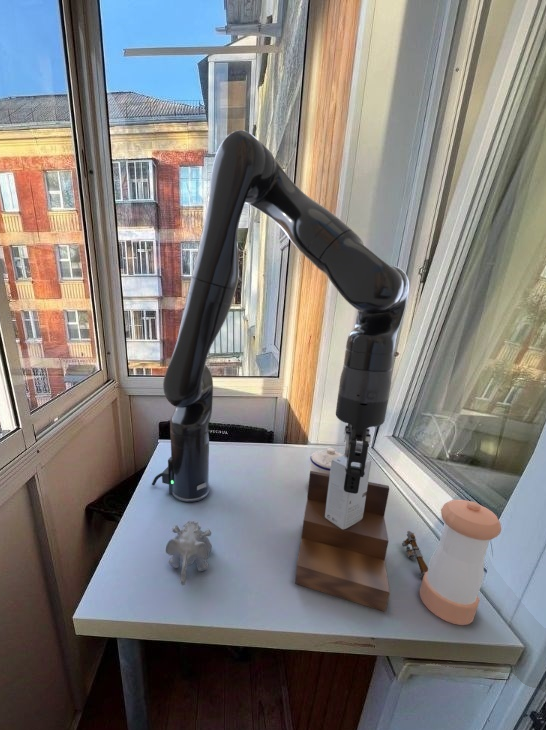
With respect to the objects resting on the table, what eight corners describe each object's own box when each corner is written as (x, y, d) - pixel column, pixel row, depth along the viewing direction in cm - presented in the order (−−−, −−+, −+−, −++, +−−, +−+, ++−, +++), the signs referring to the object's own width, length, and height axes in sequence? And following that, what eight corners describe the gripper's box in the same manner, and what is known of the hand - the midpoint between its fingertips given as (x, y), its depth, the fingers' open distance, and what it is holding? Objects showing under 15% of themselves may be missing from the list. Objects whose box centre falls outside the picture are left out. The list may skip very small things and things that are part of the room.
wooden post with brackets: (406, 539, 66) (415, 528, 63) (424, 583, 60) (435, 573, 57) (396, 539, 67) (405, 528, 64) (414, 583, 61) (424, 573, 58)
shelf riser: (295, 583, 58) (302, 515, 54) (304, 528, 71) (310, 470, 67) (385, 612, 53) (401, 539, 49) (377, 546, 66) (388, 485, 62)
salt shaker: (431, 577, 59) (455, 483, 53) (481, 609, 53) (515, 507, 47) (411, 598, 55) (434, 499, 49) (463, 634, 49) (496, 527, 44)
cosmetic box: (344, 531, 59) (353, 471, 55) (322, 517, 62) (330, 459, 59) (364, 518, 62) (374, 460, 58) (342, 505, 66) (350, 450, 62)
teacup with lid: (314, 502, 80) (319, 458, 76) (302, 480, 88) (306, 441, 85) (363, 500, 80) (371, 457, 77) (346, 479, 89) (352, 440, 85)
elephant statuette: (208, 541, 67) (208, 509, 65) (224, 592, 56) (225, 555, 54) (162, 548, 66) (161, 516, 63) (170, 602, 54) (168, 565, 52)
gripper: (339, 380, 62) (329, 457, 67) (337, 403, 50) (326, 496, 55) (383, 384, 60) (370, 464, 65) (394, 410, 47) (376, 507, 52)
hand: (350, 478), depth 60 cm, fingers open, 8 cm apart
